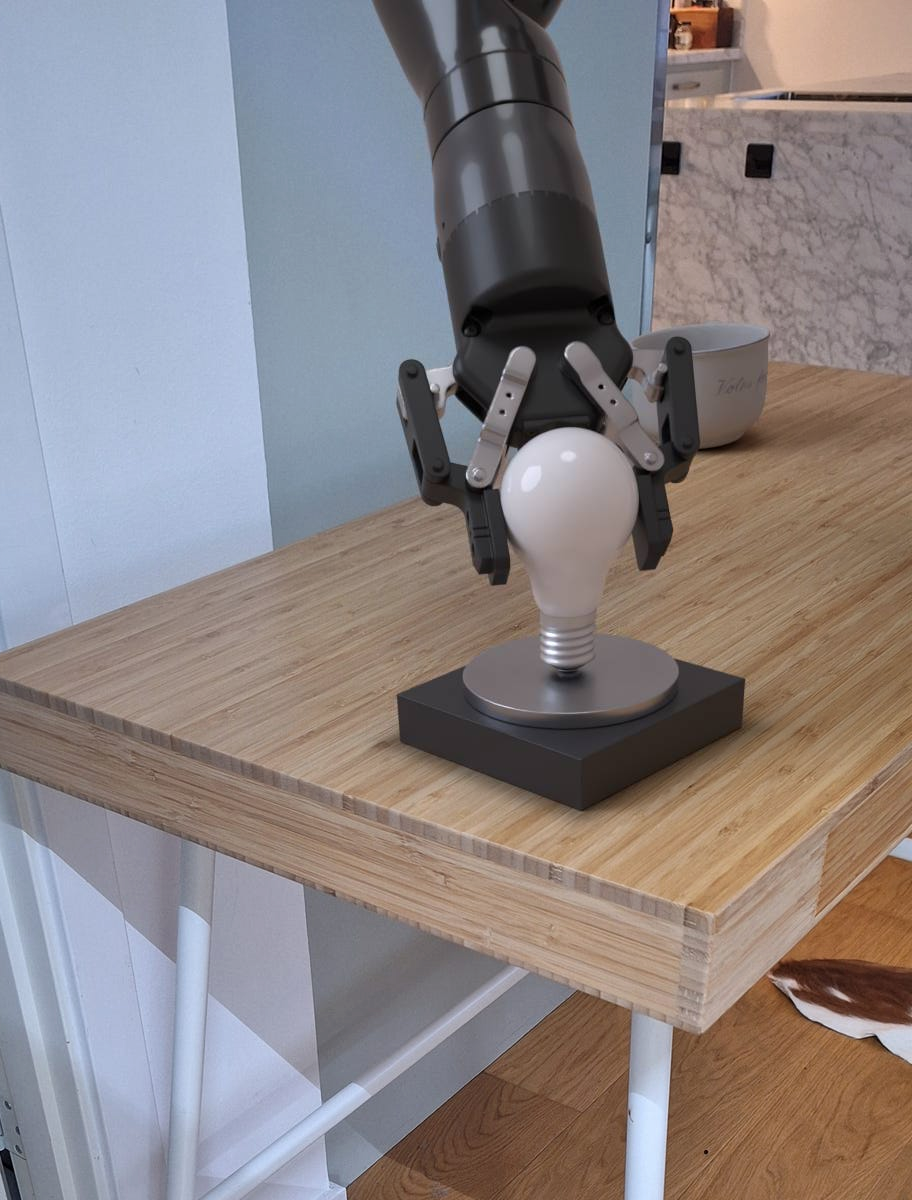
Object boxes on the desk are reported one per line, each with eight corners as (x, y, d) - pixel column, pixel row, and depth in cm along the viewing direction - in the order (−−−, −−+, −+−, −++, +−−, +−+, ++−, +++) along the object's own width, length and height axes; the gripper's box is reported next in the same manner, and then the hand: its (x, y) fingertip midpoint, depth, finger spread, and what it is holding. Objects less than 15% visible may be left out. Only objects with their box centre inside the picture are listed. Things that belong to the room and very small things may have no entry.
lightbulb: (486, 689, 69) (478, 445, 63) (522, 641, 74) (517, 410, 68) (618, 699, 68) (624, 449, 61) (646, 649, 72) (653, 413, 66)
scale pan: (561, 632, 77) (561, 618, 77) (722, 679, 71) (723, 663, 70) (419, 692, 72) (418, 677, 71) (579, 748, 65) (580, 732, 65)
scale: (560, 670, 80) (560, 625, 78) (742, 726, 72) (746, 678, 71) (399, 741, 73) (395, 693, 72) (581, 811, 66) (581, 759, 64)
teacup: (735, 462, 112) (743, 349, 108) (605, 452, 117) (606, 343, 112) (792, 421, 122) (801, 315, 117) (670, 412, 127) (674, 310, 122)
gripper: (371, 196, 65) (426, 543, 62) (686, 172, 66) (754, 510, 63) (366, 309, 72) (415, 624, 69) (649, 286, 74) (709, 593, 71)
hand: (577, 568), depth 66 cm, fingers closed on lightbulb, 6 cm apart
